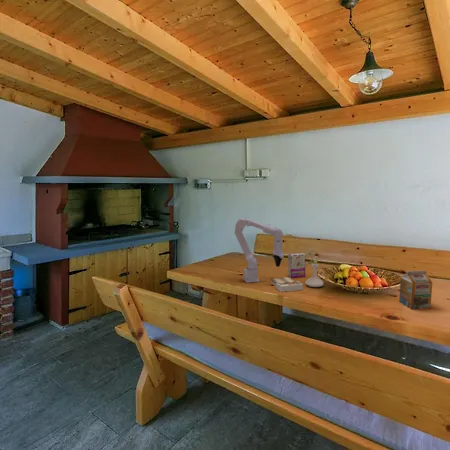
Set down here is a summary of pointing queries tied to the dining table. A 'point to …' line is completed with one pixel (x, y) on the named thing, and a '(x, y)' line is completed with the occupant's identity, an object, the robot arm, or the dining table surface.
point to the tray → (290, 287)
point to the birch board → (282, 281)
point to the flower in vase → (314, 280)
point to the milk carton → (416, 290)
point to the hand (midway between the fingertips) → (277, 266)
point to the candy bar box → (296, 265)
